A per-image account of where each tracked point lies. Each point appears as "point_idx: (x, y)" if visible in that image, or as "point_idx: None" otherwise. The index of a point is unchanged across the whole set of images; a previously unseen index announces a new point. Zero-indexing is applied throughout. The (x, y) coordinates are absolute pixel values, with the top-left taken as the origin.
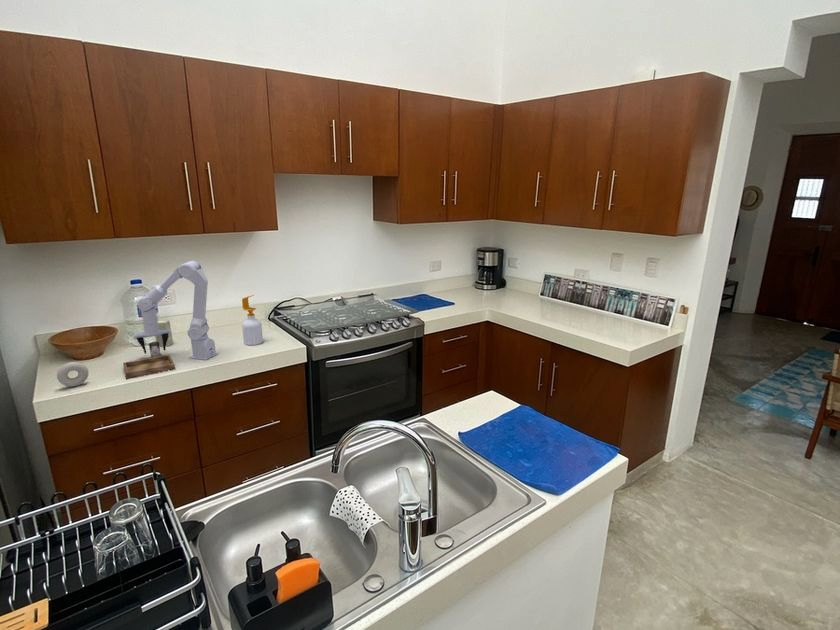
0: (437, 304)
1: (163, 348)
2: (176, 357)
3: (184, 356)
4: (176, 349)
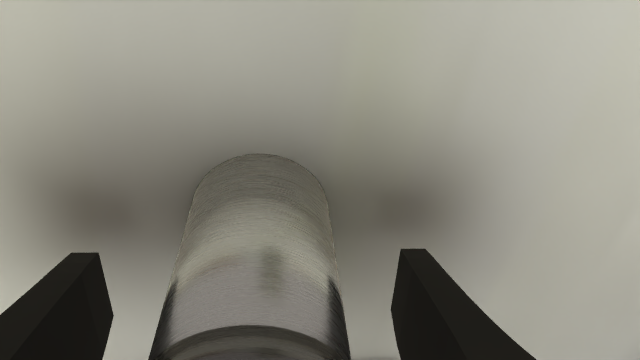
0: None
1: (400, 307)
2: None
3: (552, 344)
4: (636, 3)
